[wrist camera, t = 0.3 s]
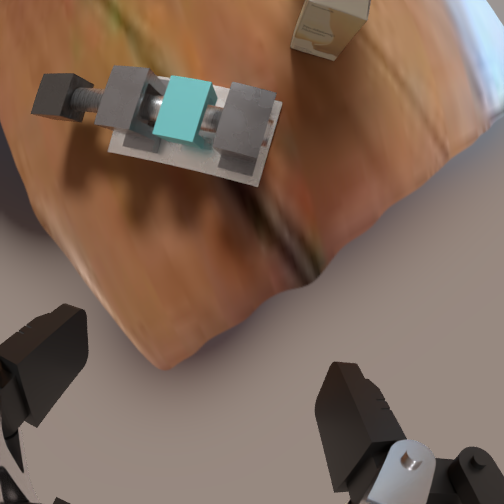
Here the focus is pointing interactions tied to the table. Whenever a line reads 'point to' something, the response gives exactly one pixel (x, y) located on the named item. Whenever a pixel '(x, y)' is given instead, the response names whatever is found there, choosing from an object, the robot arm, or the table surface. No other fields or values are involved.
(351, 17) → the skincare box
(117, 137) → the bearing stand
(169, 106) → the spacer
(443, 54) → the table surface
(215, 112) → the shaft
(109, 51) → the table surface
